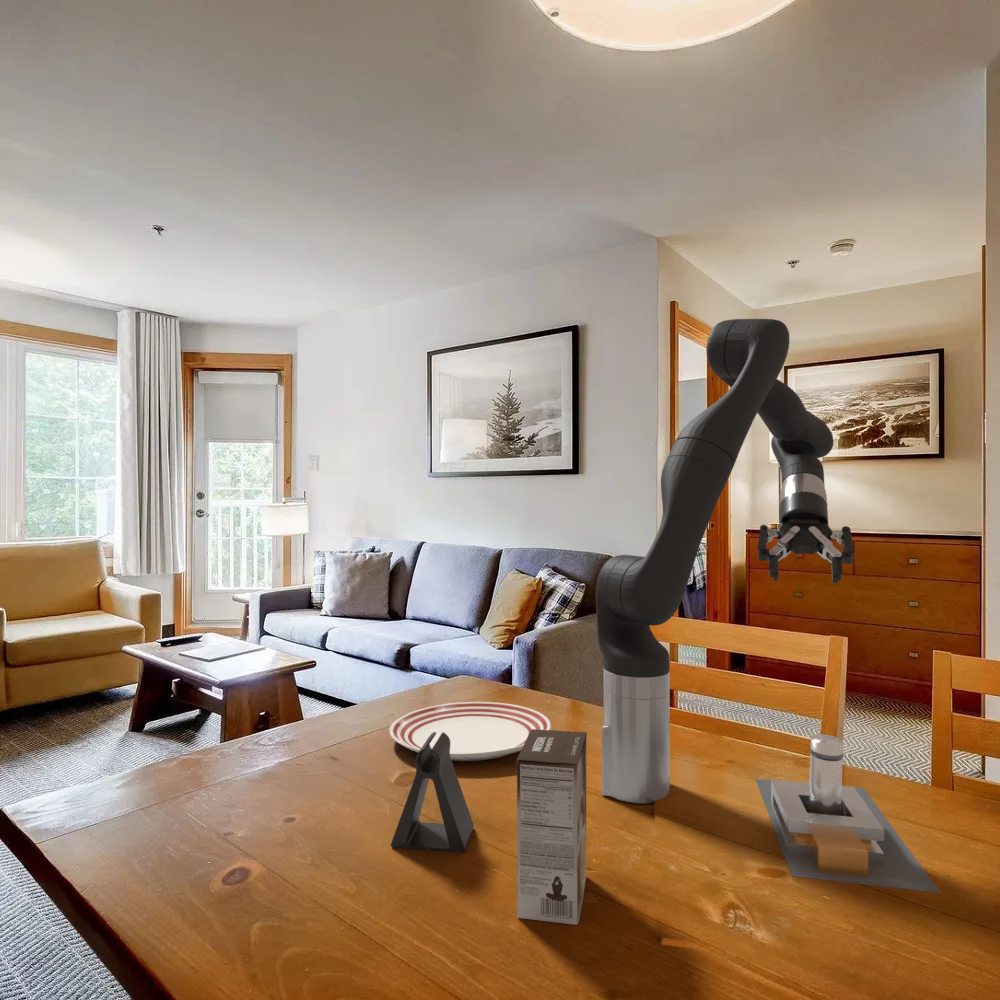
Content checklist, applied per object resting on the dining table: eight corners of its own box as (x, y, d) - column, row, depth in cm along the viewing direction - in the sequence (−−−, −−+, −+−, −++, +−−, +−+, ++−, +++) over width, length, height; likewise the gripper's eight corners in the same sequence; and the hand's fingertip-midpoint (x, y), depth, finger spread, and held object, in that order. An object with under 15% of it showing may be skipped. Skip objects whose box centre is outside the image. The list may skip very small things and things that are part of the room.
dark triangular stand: (474, 828, 86) (474, 733, 86) (464, 853, 80) (465, 751, 80) (404, 823, 87) (404, 730, 87) (390, 847, 81) (390, 747, 81)
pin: (812, 843, 81) (815, 744, 80) (804, 828, 84) (806, 733, 84) (844, 847, 80) (847, 747, 80) (835, 831, 84) (838, 735, 83)
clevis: (794, 869, 75) (794, 833, 75) (771, 810, 90) (771, 779, 90) (893, 879, 73) (893, 843, 73) (853, 817, 87) (853, 786, 87)
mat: (792, 880, 74) (792, 875, 74) (755, 782, 100) (755, 778, 100) (940, 897, 71) (940, 892, 71) (863, 791, 96) (863, 788, 96)
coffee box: (529, 869, 76) (530, 726, 76) (587, 876, 75) (587, 730, 75) (515, 919, 67) (515, 757, 67) (580, 928, 66) (580, 762, 66)
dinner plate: (354, 749, 113) (354, 729, 113) (456, 707, 135) (456, 690, 135) (490, 790, 97) (490, 766, 97) (579, 734, 120) (579, 715, 120)
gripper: (758, 490, 118) (756, 562, 108) (850, 490, 113) (857, 566, 102) (759, 519, 123) (757, 591, 112) (847, 520, 118) (854, 596, 107)
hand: (805, 579), depth 107 cm, fingers open, 8 cm apart
